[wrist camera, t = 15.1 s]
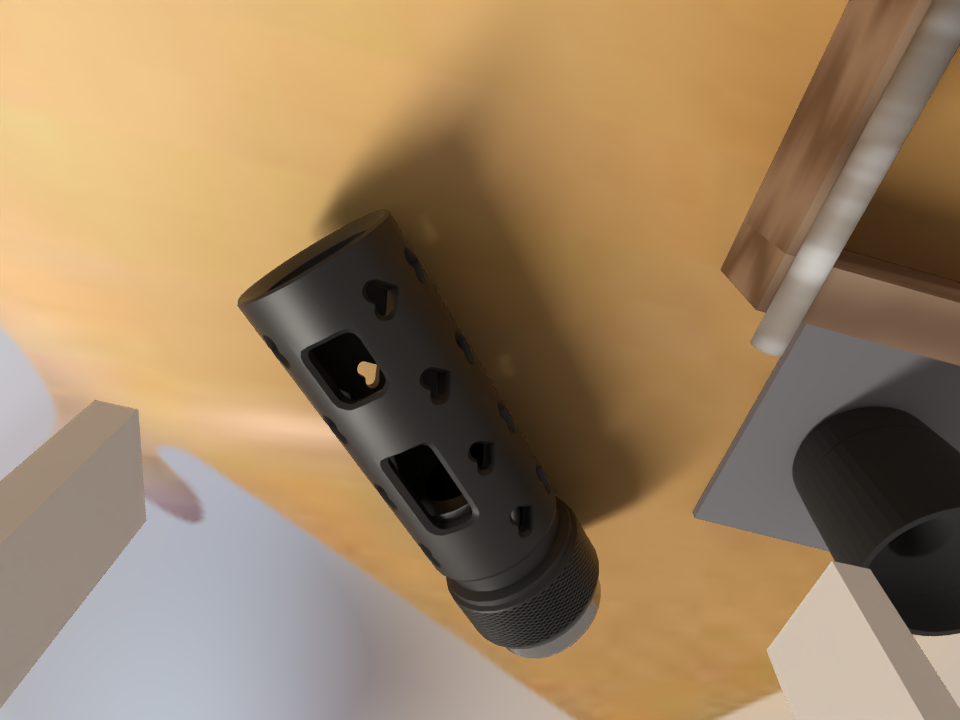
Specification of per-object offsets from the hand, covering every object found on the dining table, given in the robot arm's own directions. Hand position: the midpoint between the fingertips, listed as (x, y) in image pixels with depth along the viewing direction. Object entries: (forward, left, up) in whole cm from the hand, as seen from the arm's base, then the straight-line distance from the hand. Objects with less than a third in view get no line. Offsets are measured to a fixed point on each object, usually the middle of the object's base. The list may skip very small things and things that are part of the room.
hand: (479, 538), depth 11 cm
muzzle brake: (+14, 0, -26) cm, 30 cm away
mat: (+9, +27, -26) cm, 38 cm away
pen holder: (+9, +27, -25) cm, 38 cm away
